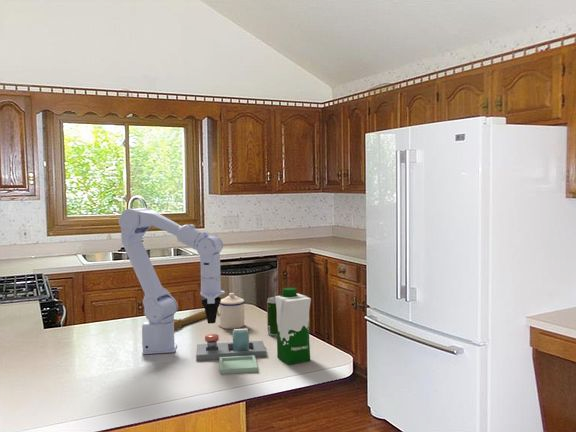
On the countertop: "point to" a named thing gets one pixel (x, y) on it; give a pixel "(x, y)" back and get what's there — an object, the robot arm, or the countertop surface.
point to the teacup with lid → (231, 312)
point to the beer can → (272, 316)
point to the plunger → (211, 340)
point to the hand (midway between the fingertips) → (211, 322)
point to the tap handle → (189, 319)
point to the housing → (223, 351)
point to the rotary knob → (241, 340)
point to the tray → (238, 364)
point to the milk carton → (293, 326)
